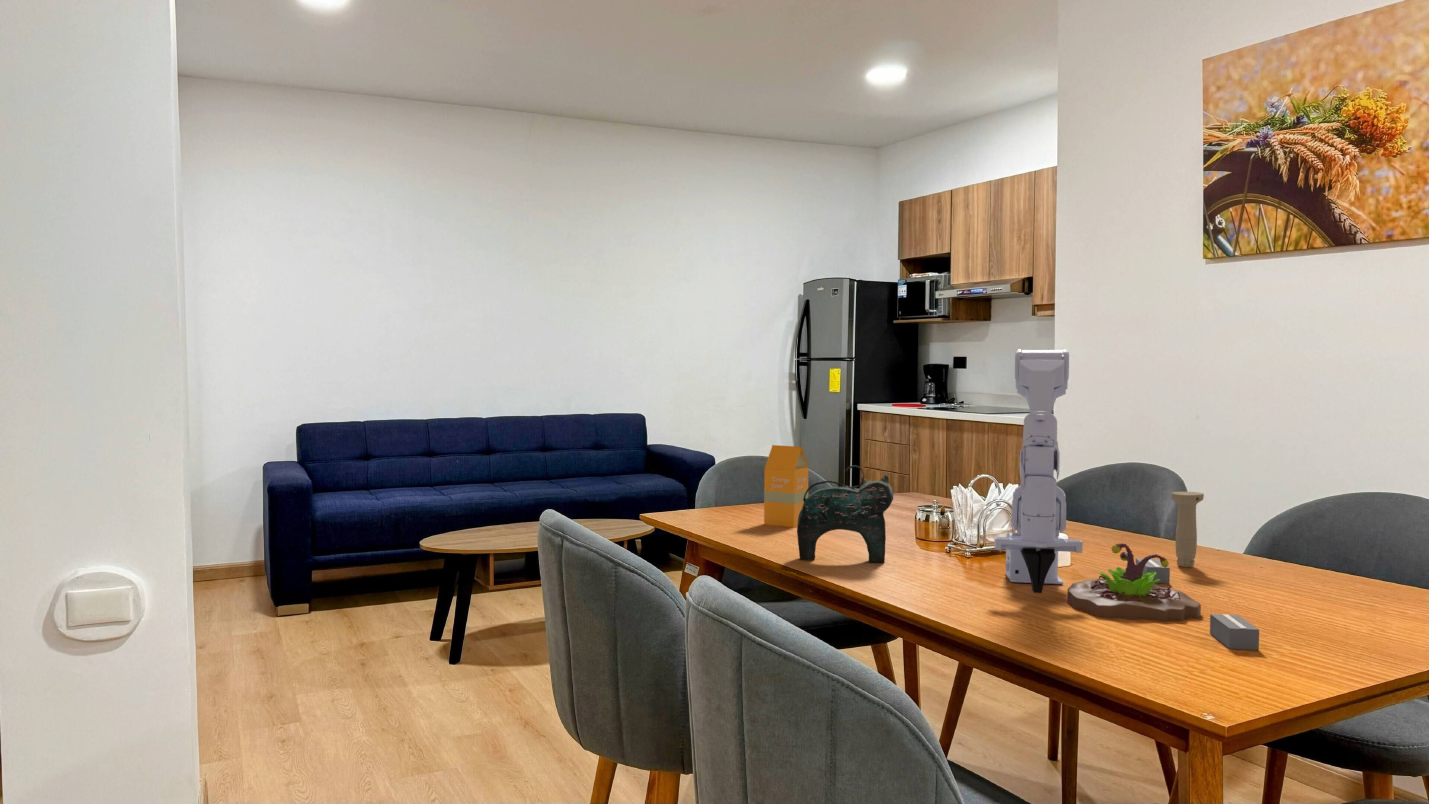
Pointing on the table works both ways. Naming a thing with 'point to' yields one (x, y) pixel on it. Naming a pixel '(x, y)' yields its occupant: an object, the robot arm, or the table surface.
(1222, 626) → the grey blocks
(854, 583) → the table surface
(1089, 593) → the plant
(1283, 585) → the table surface
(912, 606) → the table surface
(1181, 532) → the handle
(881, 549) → the ceramic cat
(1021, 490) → the robot arm
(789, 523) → the orange juice
